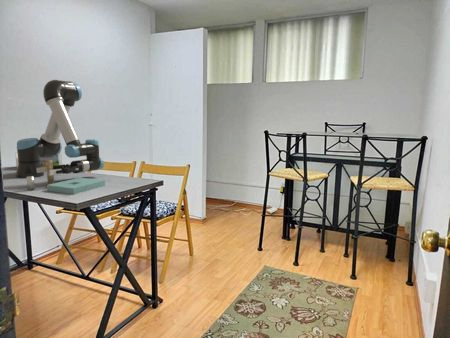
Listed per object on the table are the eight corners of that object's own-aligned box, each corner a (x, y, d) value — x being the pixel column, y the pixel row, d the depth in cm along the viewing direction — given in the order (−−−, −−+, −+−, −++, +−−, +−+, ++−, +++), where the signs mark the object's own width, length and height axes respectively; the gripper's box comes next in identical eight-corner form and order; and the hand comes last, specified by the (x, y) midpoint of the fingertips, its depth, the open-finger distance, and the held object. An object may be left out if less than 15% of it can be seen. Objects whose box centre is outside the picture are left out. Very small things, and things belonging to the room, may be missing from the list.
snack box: (29, 168, 226) (27, 147, 223) (34, 167, 232) (32, 146, 229) (59, 169, 226) (57, 148, 223) (63, 167, 232) (61, 147, 229)
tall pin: (46, 185, 176) (44, 160, 174) (51, 184, 179) (49, 159, 176) (50, 186, 175) (48, 160, 172) (55, 184, 178) (53, 160, 175)
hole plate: (47, 190, 164) (47, 185, 164) (80, 182, 185) (80, 177, 184) (74, 194, 158) (73, 188, 158) (105, 185, 179) (104, 180, 178)
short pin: (26, 190, 165) (25, 176, 164) (32, 188, 168) (30, 175, 167) (30, 190, 164) (29, 177, 162) (36, 189, 167) (35, 176, 165)
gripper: (92, 174, 185) (56, 181, 167) (67, 170, 197) (31, 175, 179) (91, 162, 184) (55, 167, 166) (67, 158, 196) (30, 162, 178)
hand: (43, 171), depth 172 cm, fingers open, 11 cm apart
